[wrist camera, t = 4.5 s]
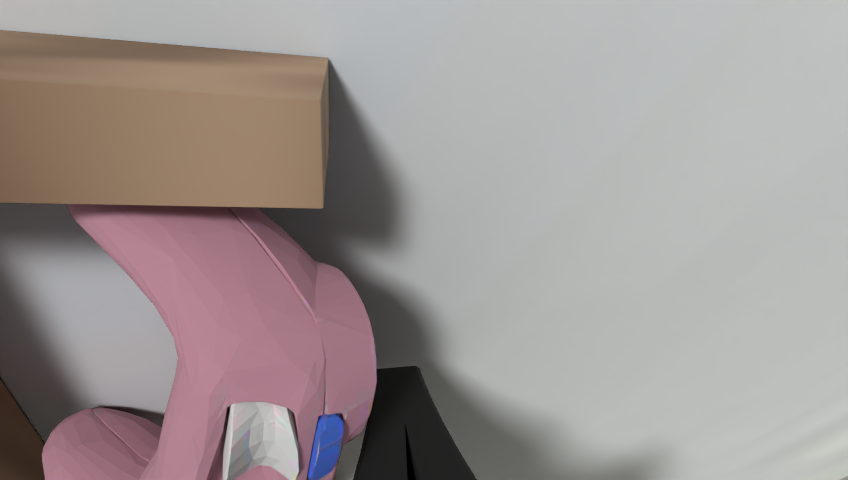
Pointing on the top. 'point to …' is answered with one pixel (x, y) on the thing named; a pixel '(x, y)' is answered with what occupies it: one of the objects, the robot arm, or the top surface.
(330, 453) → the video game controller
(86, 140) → the docking bay
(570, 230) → the top surface
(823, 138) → the top surface
